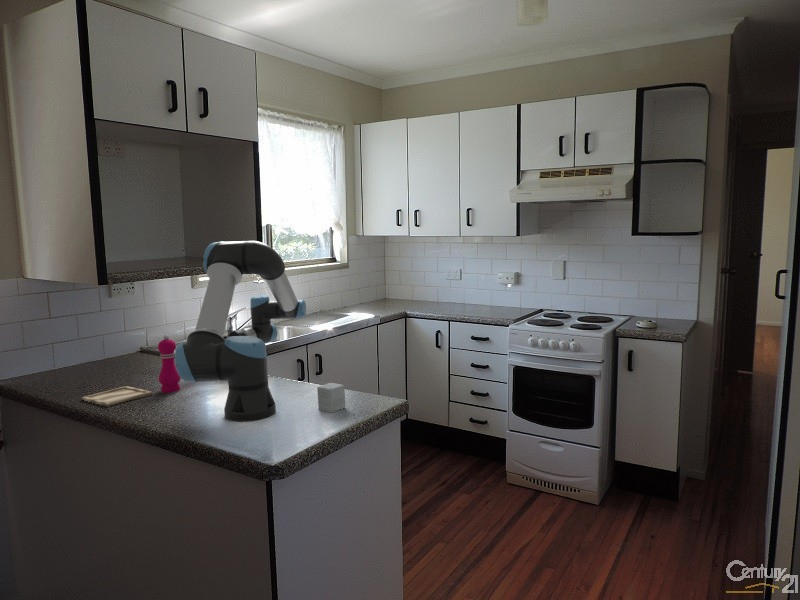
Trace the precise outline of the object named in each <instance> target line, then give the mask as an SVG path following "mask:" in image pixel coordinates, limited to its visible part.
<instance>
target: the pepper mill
mask: <svg viewBox="0 0 800 600" xmlns="http://www.w3.org/2000/svg"><path fill="white" fill-rule="evenodd" d="M176 347H177V344H176V341H174V340H173V339H171V338H170V337H169V335H168V334H166V335H164V336H163V339H162V340H160V341H159V343H158V344H157V350H158V351H159V355H160V356H159V358H161V363H162V366H161V369H160V372H159V375H158V383H160V384H161V386H160V391H161V393H163V394H169V393H170V392H171V393H175V392H178V391H180V390H181V385H180V384H179V382H180V381H181V380H182V379H181V378H180V376H179V374H178V372H177V369H176V364H175V350H176Z"/></svg>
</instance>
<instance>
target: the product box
mask: <svg viewBox="0 0 800 600" xmlns="http://www.w3.org/2000/svg"><path fill="white" fill-rule="evenodd" d="M316 390H317V391H316V392H317V405H318V410H319V411H322V410H323V411H322V412H328V413H331V412H333V413H335V411H336V412H338V411H340V409H341V410H344V409H346V408H345V407H346V390H345V384H339V383H333V382H328V383H325V384H323V385H319V386H317V388H316ZM343 408H344V409H343ZM337 410H338V411H337Z"/></svg>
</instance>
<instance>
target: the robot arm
mask: <svg viewBox="0 0 800 600" xmlns="http://www.w3.org/2000/svg"><path fill="white" fill-rule="evenodd" d="M203 253H204V254H203V261H202V262H203V263H202V265H203V269H204V272H205V274H206V276H207V277H208V278H209V280H208V282H207V287H206V291H205V295H204V297H203V300H202V305H201V308H200V312H199V315H198V318H197V322H196V326H195V328H194V329H195V330H194V331H192V332H190V333H189V334H188V336H187V339H186V342H180V343H178V344H176V349H175V351H174V352H175V357H174V363H175V366H176V369H177V372H178V374H179V376H180V378H181V379H180V380H183V381H184V382H194V383H198V382H222V381H223V382H224V381H226V382H227V384H228V393H227V395H226V397H227V398H226V399H225V400H226V401H225V404H224V411H223V412H224V413H223V415H224V418H225V419H226V420H229V421H233V422H249V421H256V420H261V419H265V418H268V417H271V416H272V415H275V413H276V412H277V409H276V408H277V407H276V402H275V399H274V397H273V394H272V392H271V389H270V387H269V376H268V353H267V349H266V344H269V343H272V342H274V341H276V339H277V338H278V333H279V332H278V330H277V327H276V325H275V324H273V323H272V322H271V320H284V319H285V320H287V319H289V320H290V319H295V320H297V319H304V318H305V317H306V316H307V304H306V301H305V299H298V298H297V296H296V294H295V292H294V290H293V287H292V285H291V283H290V280H289V277H288V275H287V274H286V272H285V270H286V264H285V262H284V259H283V258H282V257H281V255H280V254H279V253H278V252H277V251H276V250H275V249H273V248H272V247H271V246H269V245H267V244H266V243H264V242H261V241H258V240H241V241H240V240H239V241H235V240H234V241H231V240H230V241H215V242H212V243H209V244H208V246H207V247H206V248H205V250H204V252H203ZM245 275H246V276H247V275H248V276H249V275H259V276H260V277H261V278H262V279H263V280H264V281H265V282H266V284H267V285H268V287H269V289H270V291H271V293H272V295H273V296H274V299H275V300H271V299H270V297H269V296H268V295H256V296H254V295H253V296H252V297H250V308H249V309H250V318H251V326H250V327H244V328H240V329H235V330H231V331H230V332H229V334H228V335H224V334H225V330H226V326H227V322H228V319H229V313H230V309H231V305H232V301H233V297H234V292H235V287H236V286H237V285H238V284H240V283H241V281H242V279H243V276H245Z"/></svg>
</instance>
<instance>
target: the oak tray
mask: <svg viewBox="0 0 800 600" xmlns="http://www.w3.org/2000/svg"><path fill="white" fill-rule="evenodd" d="M146 396H147V397H150V396H153V391H151V390H145V389H143V388H142V389H141V388H136V387H131V386H128V385H126V386H121V387H116V388H113V389H108V390H105V391H101V392H97V393H93V394H90V395H85V396H82V397H81V401H82V400H84V401H83V402H86V401H88V402H87V403H89V402H92V403H91V404H93V403H95V405H97V404H99V405H98V406H101V405H103V406H102V407H105V406H110V407H112V406H111V405H114V406H116V405H115V404H117V405H120V404H119V403H121V404H124V403H123V402H125V403H127V402H126V401H128V402H131V401H130V400H132V401H135V400H134V399H136V400H139V399H143V398H146ZM142 397H143V398H142ZM138 398H139V399H138Z"/></svg>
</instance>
